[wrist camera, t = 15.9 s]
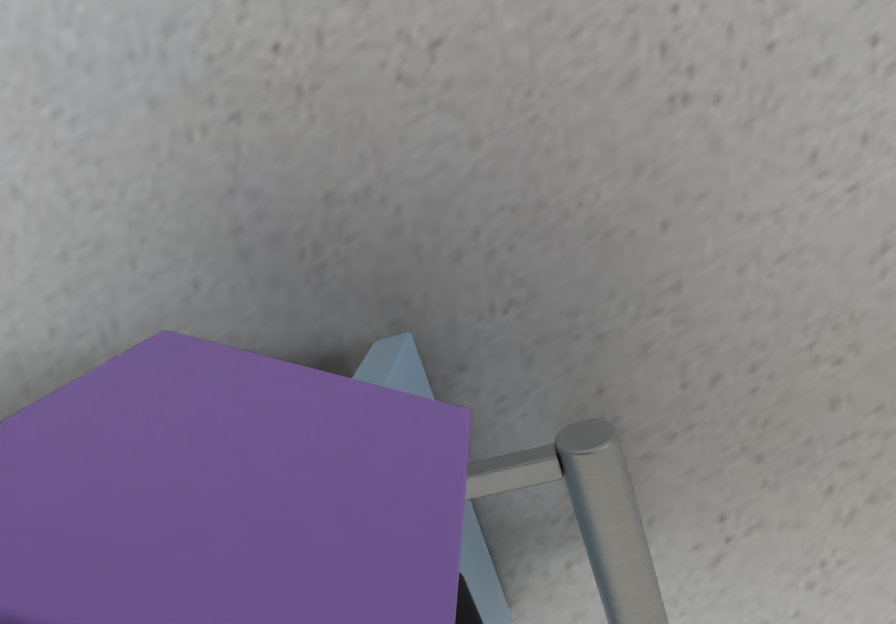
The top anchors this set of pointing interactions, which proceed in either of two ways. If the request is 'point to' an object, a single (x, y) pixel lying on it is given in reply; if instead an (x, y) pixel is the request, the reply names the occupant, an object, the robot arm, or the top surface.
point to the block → (230, 495)
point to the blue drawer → (585, 470)
